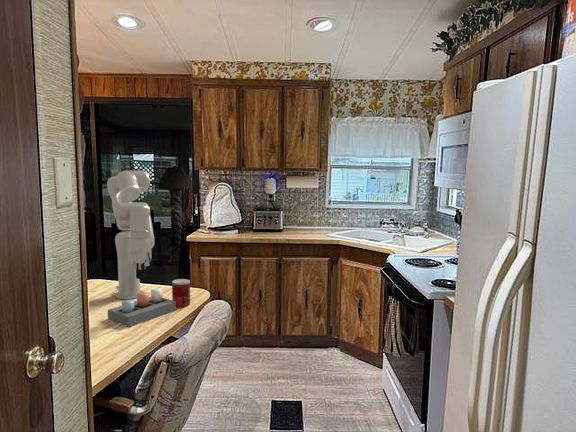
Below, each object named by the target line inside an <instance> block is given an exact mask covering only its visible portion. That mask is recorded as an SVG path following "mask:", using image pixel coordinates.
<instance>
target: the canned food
mask: <svg viewBox="0 0 576 432" xmlns="http://www.w3.org/2000/svg"><path fill="white" fill-rule="evenodd" d="M171 281H172V282H171V293H172V295H171V297H172V298H171V300H172V301H176V308H186V307H189V306H190V305H191V281H190V279H185V278H177V279H174V280H171Z"/></svg>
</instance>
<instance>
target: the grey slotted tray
mask: <svg viewBox="0 0 576 432" xmlns="http://www.w3.org/2000/svg"><path fill="white" fill-rule="evenodd" d="M176 311H177V307H176V301H172V299H169V298H165V297H162V301H158V302H153V301H151V296H149V304H148V305H146V306H138V305H137V300H134V311H133V312H130V313H127V314H125V313H122V305H119V306H115V307H112V308H109V309H107V320H109V321H112V322H114V323H116V324H119V325H122V326H124V327H127V328H130V327H133V326H136V325H139V324H142V323H145V322H147V321H150V320H154V319H156V318H158V317H161V316H164V315H167V314H170V313H172V312H176Z"/></svg>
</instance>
